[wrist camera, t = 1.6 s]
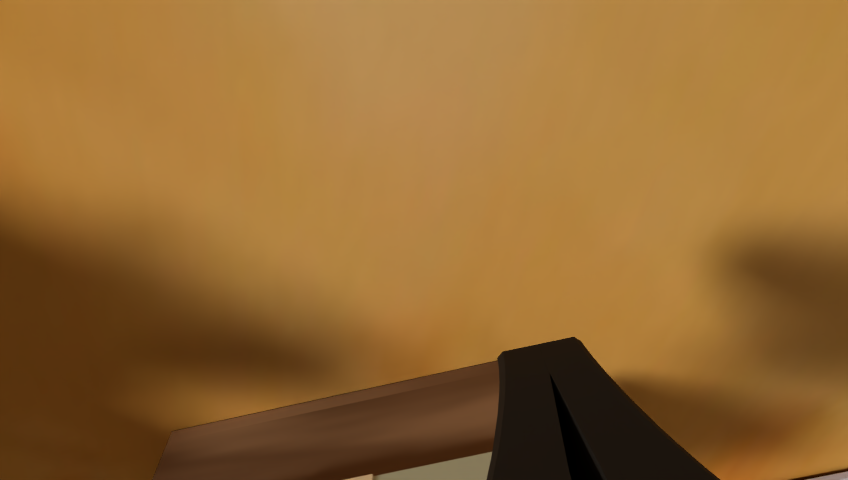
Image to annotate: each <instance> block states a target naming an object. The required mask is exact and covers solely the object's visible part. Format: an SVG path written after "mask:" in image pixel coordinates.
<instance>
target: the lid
mask: <svg viewBox="0 0 848 480" xmlns="http://www.w3.org/2000/svg"><path fill="white" fill-rule="evenodd" d="M491 456H492V452H488V453H483V454H478V455H474V456H469V457H464V458H459V459H454V460H449V461H445V462H440V463H435V464H430V465H425V466H420V467H416V468H411V469H406V470H401V471H396V472H391V473H386V474H382V475H377V476H373V474H369V475H364V476H360V477H355V478H350V479H345V480H486V479H487V475H488V470H489V466H490V461H491Z"/></svg>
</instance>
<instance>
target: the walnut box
mask: <svg viewBox="0 0 848 480" xmlns="http://www.w3.org/2000/svg"><path fill="white" fill-rule="evenodd" d="M498 402H499V366H498V361H494V362H490V363H485V364H481V365H476V366H471V367H467V368H462V369H457V370H453V371H448V372H444V373H439V374H434V375H430V376H425V377H421V378H416V379H411V380H407V381H402V382H398V383H393V384H388V385H384V386H379V387H375V388H370V389H365V390H361V391H356V392H352V393H347V394H342V395H338V396H333V397H329V398H324V399H319V400H315V401H310V402H306V403H301V404H296V405H292V406H287V407H283V408H278V409H273V410H269V411H264V412H260V413H255V414H250V415H246V416H241V417H236V418H232V419H227V420H223V421H218V422H213V423H209V424H204V425H200V426H195V427H190V428H186V429H181V430H177V431H172V432H171V435H170V437H169V440H168V442H167V445H166V447H165V450H164V452H163V454H162V457H161V459H160V462H159V464H158V467H157V469H156V472H155V474H154V476H153V479H152V480H345V479H350V478H355V477H360V476H364V475H369V474H373V476H377V475H382V474H386V473H391V472H396V471H401V470H406V469H411V468H416V467H420V466H425V465H430V464H435V463H440V462H445V461H449V460H454V459H459V458H464V457H469V456H474V455H478V454H483V453H488V452H492V450H493V443H494V436H495V429H496V422H497V415H498Z"/></svg>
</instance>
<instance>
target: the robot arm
mask: <svg viewBox="0 0 848 480" xmlns="http://www.w3.org/2000/svg"><path fill="white" fill-rule="evenodd" d="M497 360H498V366H499V402H498V415H497V422H496V429H495V436H494V443H493V450H492V456H491V461H490V466H489V470H488V475H487V479H486V480H720V479H719V478H717V477H716V476H715V475H714V474H713V473H711V472H710V471H709V470H708V469H707V468H705V467H704V466H703V465H702V464H700V463H699V462H698V461H697V460H696V459H695V458H694V457H692V456H691V455H690V454H689V453H688V452H687V451H686V450H684V449H683V448H682V447H681V446H680V445H679V444H677V443H676V442H675V441H674V440H673V439H672V438H671V437H670V436H669V435H668V434H666V433H665V432H664V431H663V430H662V429H661V428H660V427H659V426H658V425H657V424H656V423H655V422H654V421H653V420H652V419H651V418H650V417H649V416H648V415H647V414H646V413H645V412H644V411H642V410H641V409H640V408H639V407H638V406H637V405H636V404H635V403H634V402H633V401H632V400H631V399H630V398H629V397H628V396H627V395H626V393H625V392H624V391H623V390H622V389H621V388H620V387H619V386H618V385H617V384H616V383H615V382H614V381H613V380H612V378H611V377H610V376H609V375H608V374H607V373H606V372H605V371H604V369H603V368H602V367H601V366H600V365H599V364H598V362H597V361H596V360H595V359H594V358H593V356H592V355H591V354H590V353H589V351H588V350H587V349H586V348H585V346H584V345H583V343H582V342H581V341H580V340H578V339H576V338H575V337H571V338H566V339H561V340H556V341H552V342H547V343H542V344H537V345H532V346H528V347H523V348H518V349H513V350H508V351H504V352H502V353H501V354H500V356H499V357H498V358H497ZM806 480H848V471H847V472H842V473H837V474H832V475H826V476H821V477H816V478H811V479H806Z"/></svg>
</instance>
